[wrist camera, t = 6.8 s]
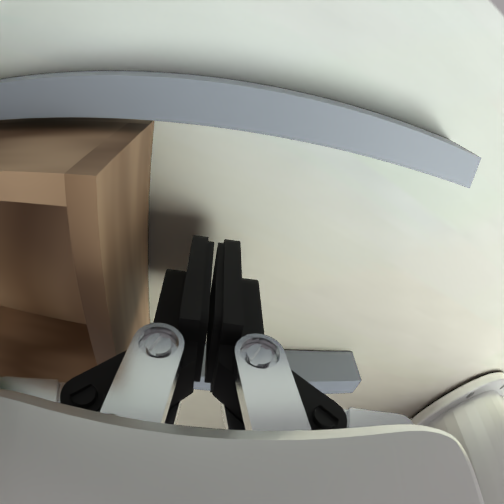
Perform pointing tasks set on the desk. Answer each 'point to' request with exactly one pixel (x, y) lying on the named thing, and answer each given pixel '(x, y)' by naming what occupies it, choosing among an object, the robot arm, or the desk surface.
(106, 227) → the crate
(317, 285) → the desk surface
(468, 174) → the bay
